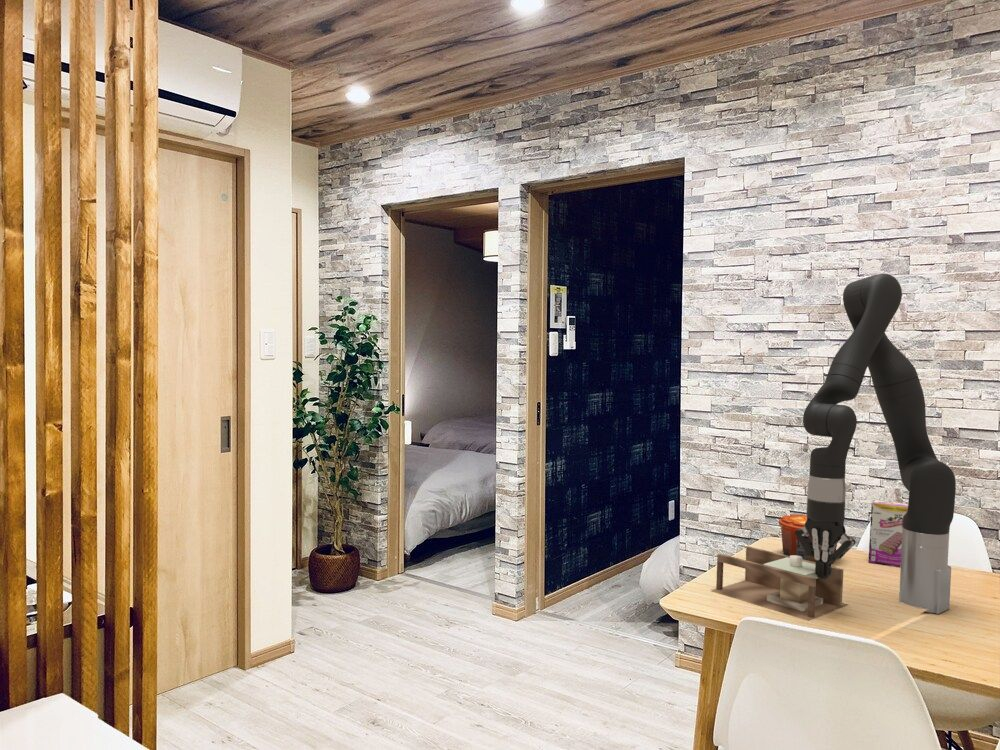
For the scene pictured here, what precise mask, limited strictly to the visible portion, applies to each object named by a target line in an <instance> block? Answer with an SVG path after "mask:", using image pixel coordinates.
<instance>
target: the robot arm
mask: <svg viewBox="0 0 1000 750" xmlns="http://www.w3.org/2000/svg"><path fill="white" fill-rule="evenodd" d="M902 290H903V289H902V287H901V284H900V282H899V281H898V279H897V278H896V277H895V276H893V275H892V274H889V273H879V274H873V275H871V276H870V275H869V276H867V277H864V278H862V279H858V280H855V281H852V282H850V283H848V284H847V285H846V286H845V288H844V289H843V293H842V301H843V302H842V303H843V307H844V311H845V313H846V315H847V318H848V321H849V323H850V325H851V327H852V329H853V332H851V335H850V336H849V337H848V338H847V339H846V341H845V342H844V343H842V345H841V347H840V348H839V349H838V351H837V352H836V353H835V355H834V357H833V359H832V361H831V364H830V367H829V368H828V369H829V370H828V371H827V374H826V377H825V379H824V383H823V384H822V385H821V386H820V388H819V389H818V391H817V392H816V393H815V394H814V396H813V397H812V398H811V400H810V401H809V403H807V406H806V408H805V410H804V412H803V417H802V423H803V424H802V426H803V428H804V429H805V431H806V432H807V433H808V434H810V435H812V436H819V437H825V438H831V441H830V443H829V444H828V446H824V447H823V446H822V447H816V448H813V449H812V450H811V452H810V457H809V459H810V460H809V477H808V482H807V491H806V493H807V497H806V498H807V499H806V515H807V521H806V522H805V526H804V527H803V528H801V529H798V530H796V531H795V534H796V536H797V538H798V539H799V541H800V543H801V544H802V546H803V548H804V549H805V551H806V553H807V554H808V555H809V556H813V557H814V558H815V560H816V564H815V573H816V574H817V577H818V578H822V579H827V578H828V577H829V576H830V575H831V566H832V564H833V563H832V561H838V560H841V559H842V558H843V557H844V556H845V554H847V553H848V552H849V550H851V549H852V548H853V547H854V546H855V545H856V539H853V538H850V536H849V535H848V534H846V532H847V531H846V528H845V525H844V523H845V515H846V514H845V513H846V496H847V495H846V494H847V493H846V490H847V487H846V465H847V464H846V462H847V457H848V453H849V450H850V446H851V443H852V440H853V438H854V435H855V432H856V429H857V424H858V423H857V422H858V418H857V415H856V412H855V411H854V410H853V408H852V407H851V406H849V405H845V404H840V403H842V402H843V403H844V402H849V401H853V400H854V399H856V397H857V396H858V394H859V391H860V389H861V386H862V382H863V380H864V377H865V375H866V371H867V369H868V371H869V374H870V378H871V381H872V385H873V388H874V391H875V394H876V398H877V401H878V405H879V406H880V409H881V413H882V415H883V418H884V420H885V423H886V425H887V428H888V430H889V433H890V436H891V438H892V441H893V444H894V450H895V455H896V457H897V462H898V463H897V464H898V468H899V475H900V480H901V482H902V485H903V486H904V488H905V490H907V491H908V502H907V504H908V510H907V513H906V514H905V515H904V516H903V528H902V549H901V567H900V574H899V592H898V593H899V594H898V601H899V603H902V604H903V603H904V604H905V605H908V606H911V607H915V608H920V609H926V610H924V611H923V612H924V613H931V614H932V613H933V614H937V615H939V614H942V613H944V612H945V611H947V610H950V606H951V605H950V603H951V602H950V601H951V582H952V566H950V565H949V546H950V545H949V543H950V528H951V527H950V526H951V524H952V522H953V519H954V514H955V503H956V493H957V492H956V491H957V489H956V488H957V487H956V486H957V485H956V483H957V482H956V476H955V473H954V471H953V470H952V468H951V467H950V466H949V465H947V463H944V462H942V461H940V460H939V459H938V458H937V455H936V453H935V451H934V447H933V445H932V443H931V441H930V437H929V436H928V431H927V422H926V421H927V417H926V416H927V415H926V414H927V413H926V399H925V394H924V390H923V387H922V384H921V381H920V377H919V375H918V372H917V369H916V367H915V366H914V364H912V362H911V361H910V360H909V359H908V358H907V357H906V356H905V354H903V353H902V351H900V349H898V347H896V346H895V344H893V343H892V342H891V340H890V339H889V337H888V335H887V334H886V330H887V328H888V326H889V325H890V323H891V322H892V320H893V318H894V316H895V315H896V313H897V311H898V309H899V307H900V305H901V302H902V298H903V297H902V296H903V291H902ZM809 535H810V537H811V539H812V540H813V542H812V541H811V539H810V537H809ZM838 542H840V543H839V544H840V546H839V547H837V548H836V551H835V552H834V550H835V546H836V544H837V545H838Z"/></svg>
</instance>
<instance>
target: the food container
mask: <svg viewBox="0 0 1000 750" xmlns="http://www.w3.org/2000/svg"><path fill="white" fill-rule="evenodd" d="M806 521H807V514H802V513H801V514H800V513H798V514H790V515H787V514H786V515H785V514H784V515H783V516H781V517H780V519H778V524H779V527H780V532H781V542H782V543H781V544H782V554H783V555H787V556H791V555H797V556H801V557H802V559H803V560H807V561H811V562H816V560H815V558H814V557H813V556H809V555H808V554H807V553H806V551H805V549H804V548H803V546H802V544H801V543H800V541H799V539H798V538H797V536H796V534H795V531H796V530H798V529H801V528H803V527H804V526H805V522H806ZM809 537H810V535H809ZM810 539H811V537H810ZM811 541H812V542H813V540H812V539H811ZM837 545H838V543H837V544H836V546H835V550H834V552H835V551H836V550H837V549H838V546H837ZM833 562H834V561H832V564H833Z"/></svg>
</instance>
